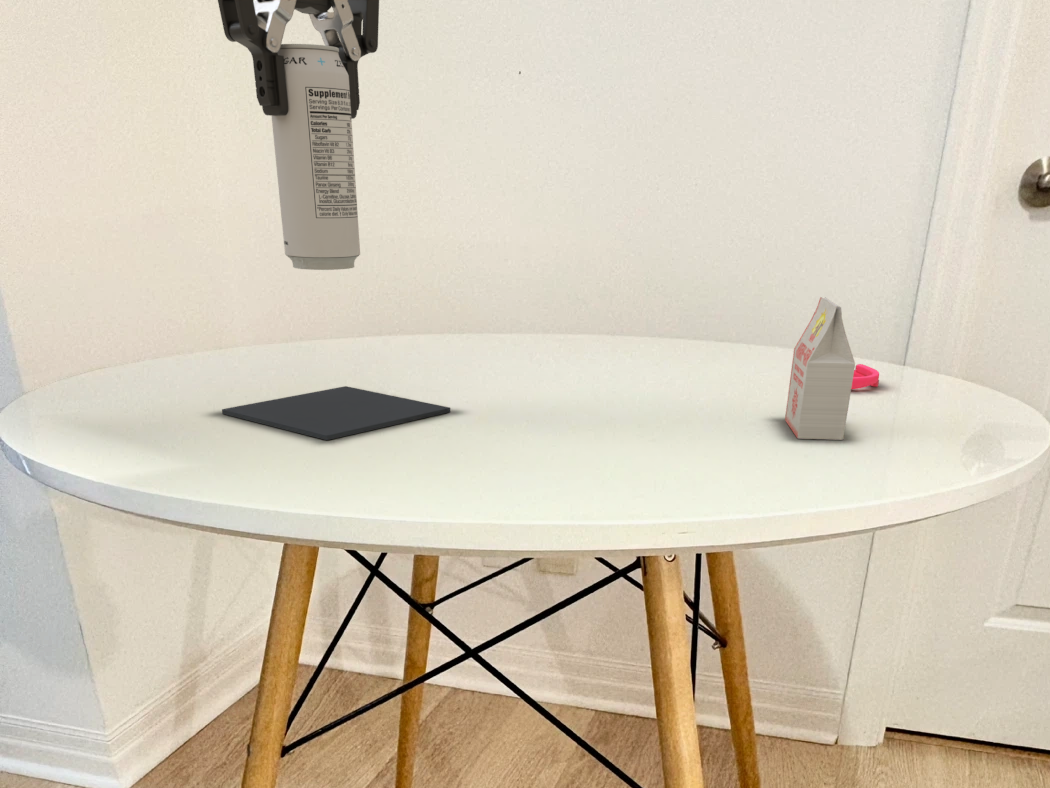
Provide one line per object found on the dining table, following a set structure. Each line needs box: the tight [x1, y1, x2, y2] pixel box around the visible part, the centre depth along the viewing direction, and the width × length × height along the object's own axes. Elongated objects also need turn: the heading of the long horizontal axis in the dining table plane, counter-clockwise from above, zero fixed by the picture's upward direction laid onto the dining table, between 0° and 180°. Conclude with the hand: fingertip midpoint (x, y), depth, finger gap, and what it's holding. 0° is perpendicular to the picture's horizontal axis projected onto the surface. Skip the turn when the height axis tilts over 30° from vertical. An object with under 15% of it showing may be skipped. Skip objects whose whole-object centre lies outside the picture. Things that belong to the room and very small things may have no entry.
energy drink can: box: [271, 43, 361, 271], centre depth 78 cm, size 6×6×15 cm
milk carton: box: [784, 296, 856, 441], centre depth 82 cm, size 4×7×10 cm, turn 176°
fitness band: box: [851, 363, 880, 390], centre depth 102 cm, size 8×6×2 cm
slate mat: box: [221, 385, 451, 441], centre depth 88 cm, size 14×14×1 cm
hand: (311, 116), depth 77 cm, fingers closed on energy drink can, 6 cm apart
